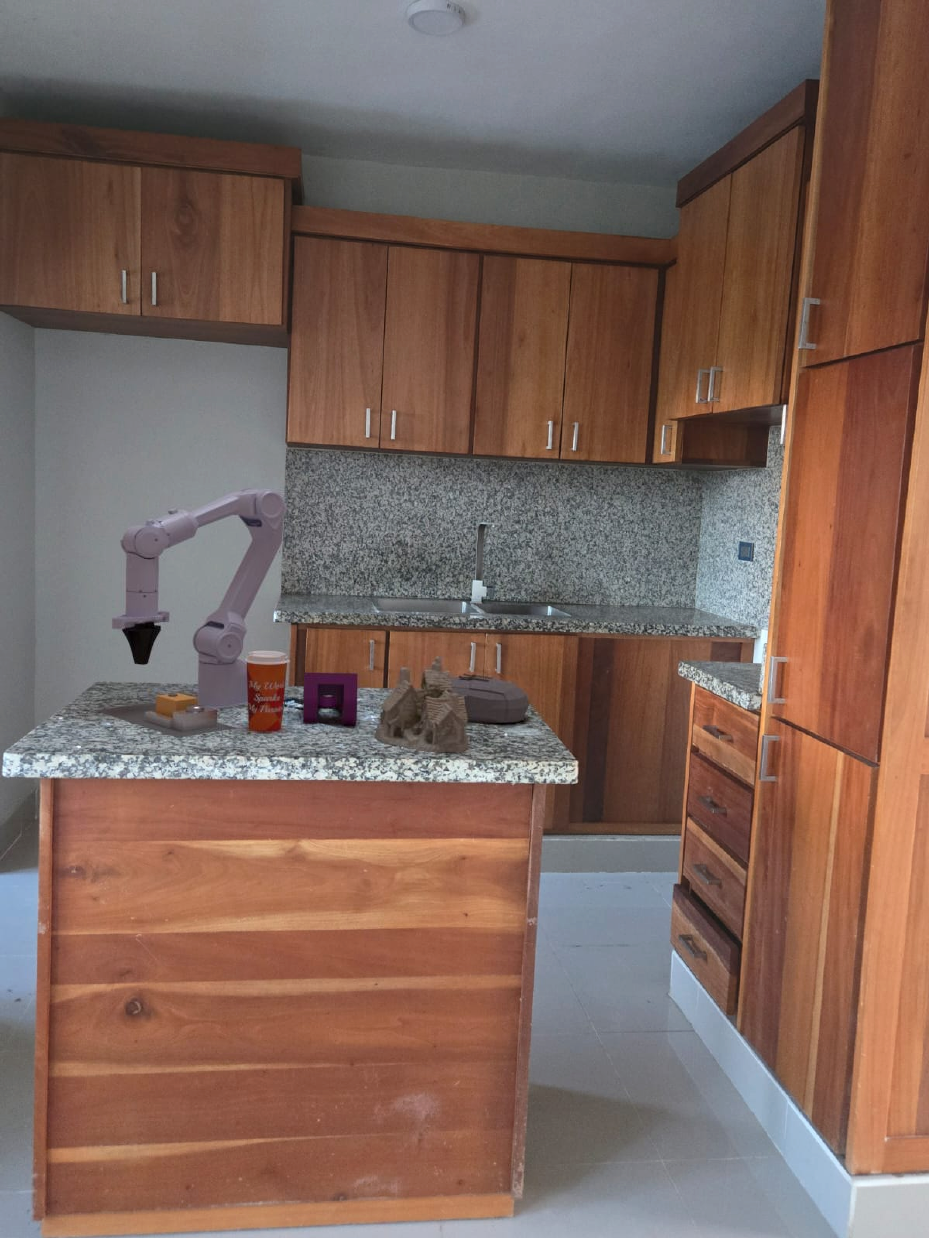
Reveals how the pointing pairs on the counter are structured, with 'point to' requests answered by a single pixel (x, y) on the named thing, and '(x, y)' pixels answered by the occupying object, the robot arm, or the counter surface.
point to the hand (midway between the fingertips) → (141, 663)
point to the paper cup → (266, 689)
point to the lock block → (173, 703)
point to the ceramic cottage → (424, 714)
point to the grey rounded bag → (490, 699)
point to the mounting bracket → (330, 695)
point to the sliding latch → (186, 718)
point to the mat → (138, 717)
